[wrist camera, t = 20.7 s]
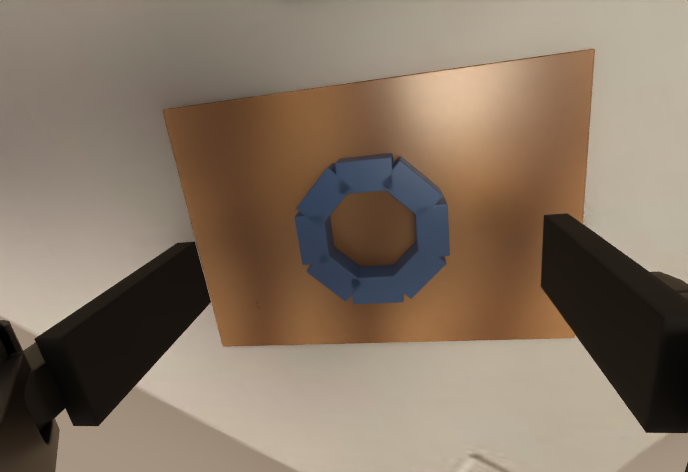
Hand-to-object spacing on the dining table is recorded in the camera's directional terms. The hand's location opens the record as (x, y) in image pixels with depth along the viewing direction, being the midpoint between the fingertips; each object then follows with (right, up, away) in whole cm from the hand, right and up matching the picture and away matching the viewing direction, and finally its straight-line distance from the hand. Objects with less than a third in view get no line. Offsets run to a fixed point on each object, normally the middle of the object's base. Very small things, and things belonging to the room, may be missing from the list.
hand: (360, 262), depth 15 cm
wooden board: (+1, +2, +6) cm, 6 cm away
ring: (+1, +1, +5) cm, 6 cm away
